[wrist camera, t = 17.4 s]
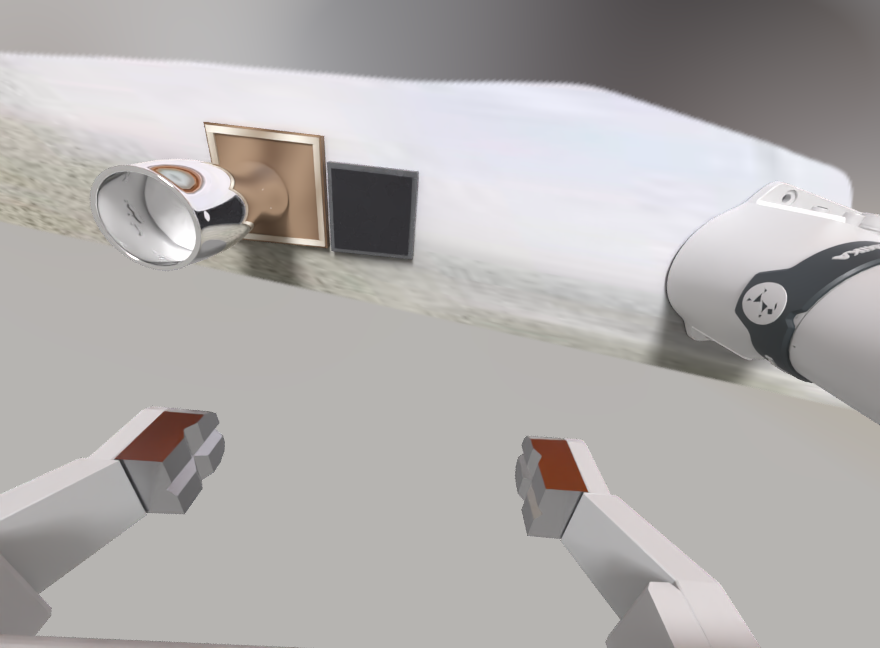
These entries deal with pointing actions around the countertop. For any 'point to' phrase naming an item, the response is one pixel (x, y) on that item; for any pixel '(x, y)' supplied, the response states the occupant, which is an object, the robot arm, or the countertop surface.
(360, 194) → the ink pad
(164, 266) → the beer glass
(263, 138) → the board
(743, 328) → the robot arm
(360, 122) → the countertop surface
